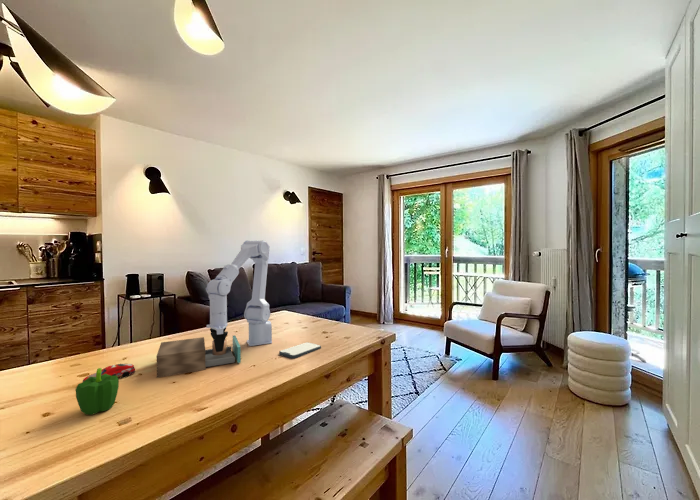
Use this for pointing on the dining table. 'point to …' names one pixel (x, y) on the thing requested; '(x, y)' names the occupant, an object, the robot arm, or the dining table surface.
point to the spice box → (181, 357)
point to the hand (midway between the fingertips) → (218, 349)
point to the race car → (116, 371)
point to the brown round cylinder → (221, 351)
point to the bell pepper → (97, 393)
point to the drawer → (224, 355)
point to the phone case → (299, 350)
